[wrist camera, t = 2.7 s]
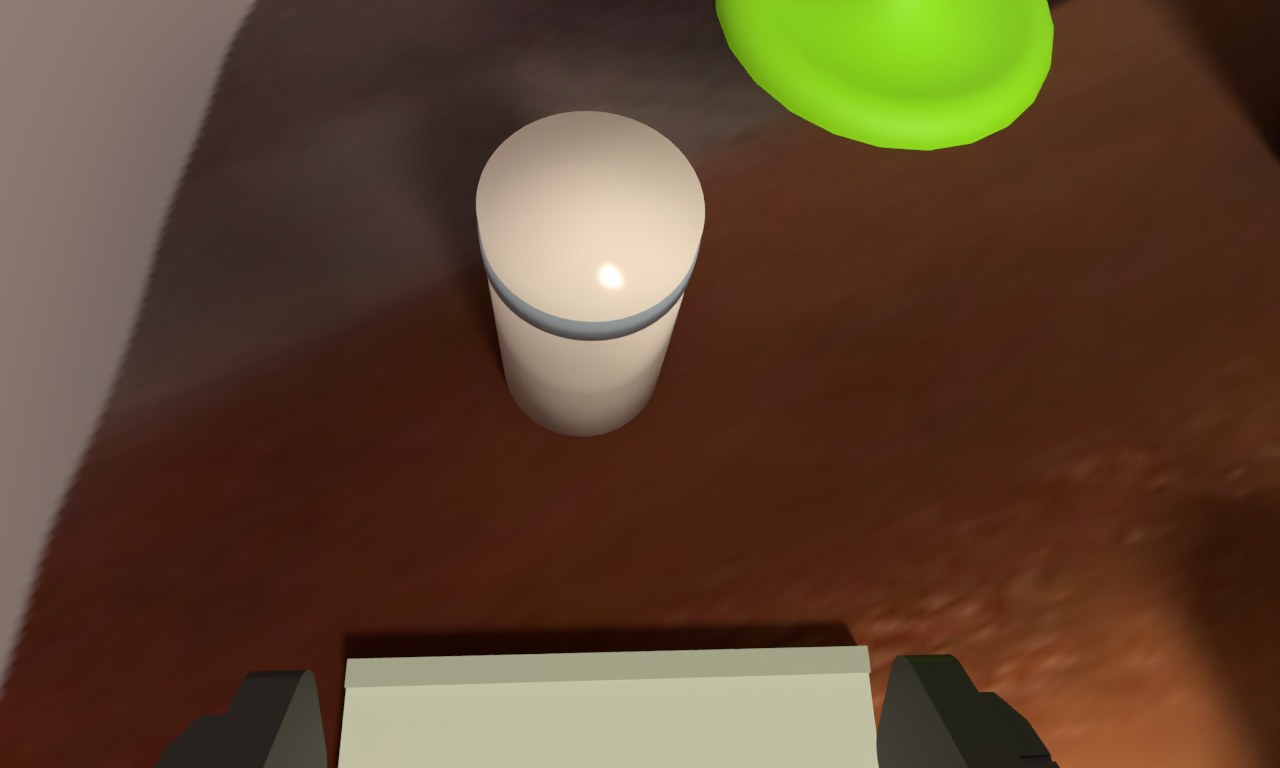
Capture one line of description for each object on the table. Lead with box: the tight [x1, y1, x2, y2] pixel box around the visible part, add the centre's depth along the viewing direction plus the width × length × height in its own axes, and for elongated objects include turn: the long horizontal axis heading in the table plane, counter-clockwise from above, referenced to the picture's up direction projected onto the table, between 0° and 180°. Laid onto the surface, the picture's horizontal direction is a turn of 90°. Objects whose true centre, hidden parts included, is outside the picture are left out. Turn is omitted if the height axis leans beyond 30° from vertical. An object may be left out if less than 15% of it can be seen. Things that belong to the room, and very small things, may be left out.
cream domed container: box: [476, 111, 705, 437], centre depth 24 cm, size 6×6×10 cm
